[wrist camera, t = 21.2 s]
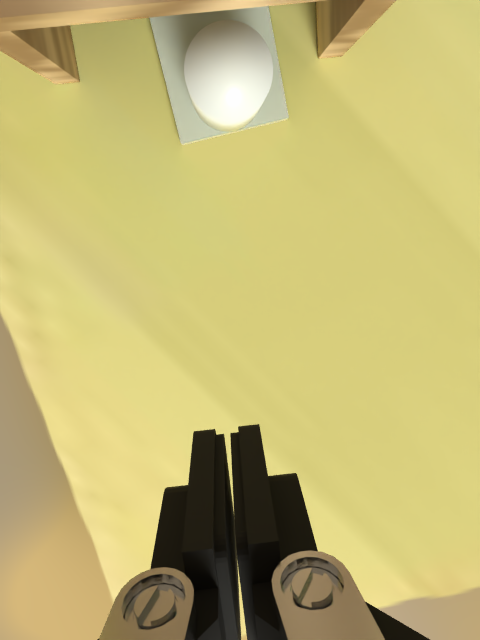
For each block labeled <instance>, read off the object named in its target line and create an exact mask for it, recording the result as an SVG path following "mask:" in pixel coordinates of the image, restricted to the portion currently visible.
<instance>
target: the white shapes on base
mask: <svg viewBox="0 0 480 640" xmlns="http://www.w3.org/2000/svg"><path fill="white" fill-rule="evenodd" d="M150 22H151V26H152V30H153V34H154V38H155V42H156V46H157V50H158V54H159V58H160V62H161V66H162V70H163V74H164V78H165V82H166V86H167V90H168V94H169V98H170V102H171V106H172V110H173V114H174V118H175V122H176V126H177V130H178V134H179V138H180V142H181V144H182V145H186V144H190V143H194V142H198V141H202V140H206V139H210V138H214V137H218V136H222V135H227V134H231V133H235V132H239V131H243V130H247V129H251V128H255V127H259V126H263V125H268V124H272V123H276V122H280V121H284V120H287V119H288V118H289V116H288V110H287V105H286V100H285V94H284V89H283V83H282V78H281V72H280V67H279V61H278V56H277V50H276V45H275V39H274V34H273V29H272V23H271V18H270V12H269V7H268V6H264V7H254V8H243V9H233V10H223V11H212V12H202V13H191V14H181V15H171V16H160V17H150Z"/></svg>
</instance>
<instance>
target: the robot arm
mask: <svg viewBox="0 0 480 640" xmlns="http://www.w3.org/2000/svg"><path fill="white" fill-rule="evenodd" d="M238 430H239V432H237V433H230V434H231V455H232V476H233V497H234V511H233V503H232V495H231V487H230V479H229V470H228V462H227V454H226V446H225V438H224V434H219V435H216V431H215V429H212V430H203V431H194V433H193V443H192V453H191V463H190V473H189V483H188V485H185V486H176V487H167V488H166V489H165V491H164V495H163V501H162V507H161V512H160V518H159V524H158V529H157V535H156V541H155V546H154V552H153V558H152V563H151V569H150V570H147V571H145V572H142V573H140V574H139V575H137V576H135V577H134V578H132V579H131V580H130V581H129V582H128V583H127V584H126V585H125V586H124V587H123V588H122V589H121V591H120V592H119V594H118V596H117V597H116V599H115V601H114V604H113V606H112V609H111V611H110V614H109V616H108V618H107V621H106V623H105V626H104V628H103V631H102V633H101V635H100V638H99V639H98V640H241V627H240V606H239V586H238V568H239V576H240V584H241V592H242V600H243V608H244V616H245V625H246V633H247V640H430V639H428V638H426V637H424V636H423V635H421V634H419V633H418V632H416V631H414V630H412V629H411V628H409V627H407V626H406V625H404V624H402V623H401V622H399V621H397V620H396V619H394V618H392V617H391V616H389V615H387V614H385V613H384V612H382V611H380V610H379V609H377V608H375V607H373V606H372V605H370V604H368V603H367V602H365V601H364V599H363V597H362V595H361V593H360V591H359V590H358V588H357V586H356V584H355V582H354V580H353V578H352V576H351V574H350V573H349V571H348V570H347V569H346V567H345V566H344V565H343V563H341V562H340V561H339V560H337V559H336V558H335V557H333V556H331V555H328V554H326V553H323V552H318V550H317V547H316V543H315V539H314V536H313V532H312V528H311V524H310V521H309V517H308V513H307V510H306V506H305V502H304V498H303V495H302V491H301V487H300V484H299V480H298V477H297V474H296V473H292V474H283V475H274V476H268V474H267V468H266V462H265V456H264V450H263V444H262V438H261V432H260V427H259V424H258V425H249V426H240V427H238ZM234 518H235V520H234ZM237 560H238V566H237Z"/></svg>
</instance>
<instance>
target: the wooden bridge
mask: <svg viewBox="0 0 480 640" xmlns="http://www.w3.org/2000/svg"><path fill="white" fill-rule="evenodd" d="M395 1H396V0H0V51H2V52H3V53H5V54H7V55H8V56H10V57H12V58H13V59H15V60H17V61H18V62H20V63H22V64H23V65H25V66H27V67H28V68H30V69H31V70H33V71H35V72H36V73H38V74H40V75H41V76H43V77H45V78H46V79H48V80H50V81H51V82H53V83H55V84H64V83H74V82H80V80H79V74H78V69H77V63H76V57H75V52H74V46H73V41H72V35H71V30H70V25H77V24H88V23H98V22H108V21H119V20H129V19H140V18H150V17H160V16H171V15H181V14H191V13H202V12H212V11H223V10H233V9H243V8H254V7H264V6H274V5H285V4H295V3H305V2H316V17H317V41H318V58H328V57H339V56H343V55H344V53H345V52H346V51H347V50H348V49H349V48H350V47H351V46H352V45H353V44H354V43H355V42H356V41H357V40H358V39H359V38H360V37H361V36H362V35H363V34H364V33H365V32H366V31H367V30H368V29H369V28H370V27H371V26H372V25H373V24H374V23H375V22H376V21H377V20H378V19H379V18H380V17H381V15H382V14H383V13H384V12H385V11H386V10H387V9H388V8H389V7H390V6H391V5H392V4H393V3H394V2H395Z"/></svg>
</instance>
